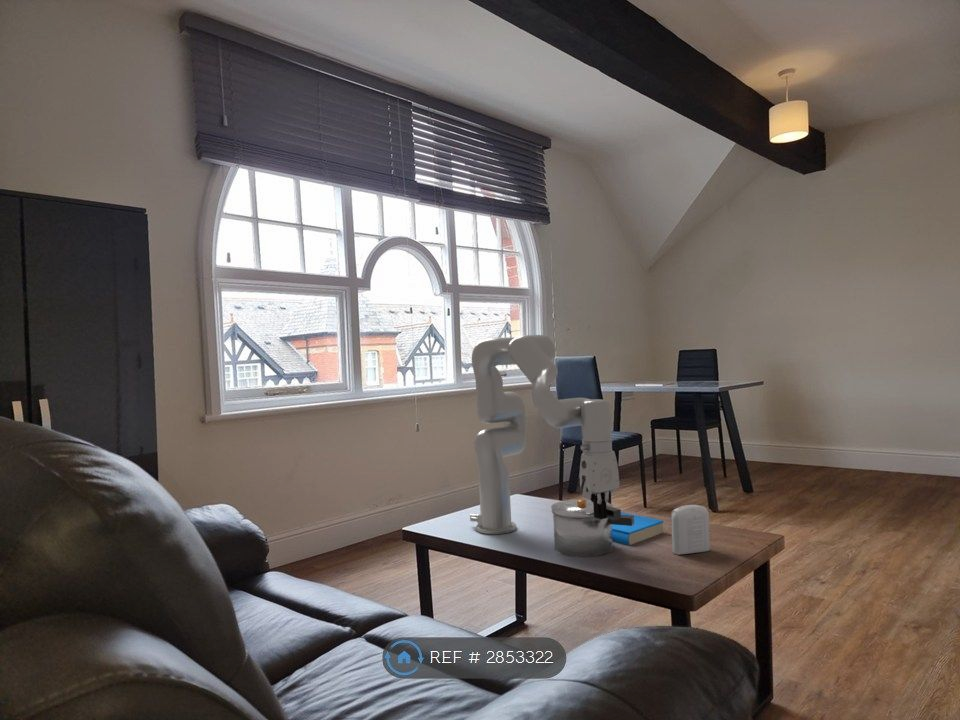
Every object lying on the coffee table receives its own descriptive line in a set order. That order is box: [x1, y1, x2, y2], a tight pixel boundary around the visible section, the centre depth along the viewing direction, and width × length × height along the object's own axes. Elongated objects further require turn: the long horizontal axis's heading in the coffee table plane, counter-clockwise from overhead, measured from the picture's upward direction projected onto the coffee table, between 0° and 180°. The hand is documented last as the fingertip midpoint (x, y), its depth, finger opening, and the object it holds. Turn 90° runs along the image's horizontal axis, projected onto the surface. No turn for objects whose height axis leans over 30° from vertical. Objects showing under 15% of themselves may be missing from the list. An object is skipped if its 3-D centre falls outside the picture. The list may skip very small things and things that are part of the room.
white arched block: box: [670, 504, 711, 556], centre depth 170 cm, size 10×4×12 cm, turn 106°
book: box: [612, 511, 664, 546], centre depth 192 cm, size 17×4×25 cm
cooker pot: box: [552, 513, 634, 558], centre depth 176 cm, size 22×16×10 cm
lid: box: [551, 498, 622, 520], centre depth 174 cm, size 23×17×3 cm
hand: (600, 517), depth 166 cm, fingers closed
